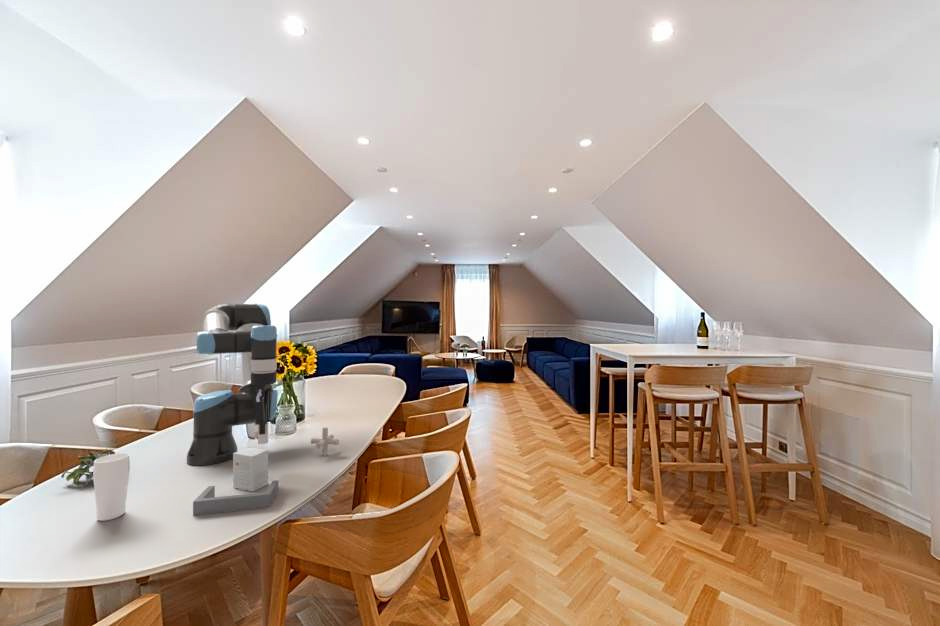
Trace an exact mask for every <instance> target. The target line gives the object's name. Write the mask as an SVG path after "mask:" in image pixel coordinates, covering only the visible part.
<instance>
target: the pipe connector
mask: <svg viewBox="0 0 940 626" xmlns="http://www.w3.org/2000/svg"><path fill="white" fill-rule="evenodd" d="M328 429H329V428H328V427H327V426H325V427H322V429H321V430H322V435H321V436H322V437H321V438H315V437H314V438H311V439H310V444H312V445H313V444H315V447H316V449H321V448H322V454H321V456H322V455H323V456H322V457H326V456H328V452H329V451H328V445H335V446H337V445H339V444H340V440H339V439H336V438H334V437H335V436H334V434H329V435H328V433H329V432H328V431H329V430H328Z"/></svg>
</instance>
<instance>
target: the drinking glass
mask: <svg viewBox="0 0 940 626" xmlns="http://www.w3.org/2000/svg"><path fill="white" fill-rule="evenodd" d="M130 465H131V459H130V454H129V453H128V452H127V453H126V452H119V453H116V454H111V455H110V454H109V455H106V456H103V457H100V458H98V459H96V460H95V461H94V466H92V467H93V470H92V472H93V487H94V497H95V507H96V508H95V509H96V519H97V520H98V521H101V522H105V521H111V520H114V519H117V518H119V517H121V516H122V515H124V514H125V512H126V507H127V506H126V503H127V496H128V495H127V494H128V487H129V477H130V469H131V467H130Z"/></svg>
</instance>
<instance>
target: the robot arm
mask: <svg viewBox="0 0 940 626" xmlns="http://www.w3.org/2000/svg"><path fill="white" fill-rule="evenodd" d="M200 324H201V327H202V328H203V331H200V332H197V334H196V353H197V354H198V355H219V354H220V355H223V354H240V355H241V372H242V386H240V388H238V393H234V392H233V390H231V389H225V390H224V389H223V390H217V391H212V392H207V393H205V394H201V395H199V396H198V397H196V398H195V399H194V401H193V410H192V413H193V425H192V426H193V431H192V434H193V435H192V436H193V437H192V441H191V445H190V446H189V449H188V452H187V454H186V463H187V464H188V465H191V466H209V465H213V464H218V463H222V462H225V461H228V460H231V459H233V453H236V452H238V445H237V442H236V440H235V437H234V434H233V427H237V426H241V425H248V424H249V425H251V424H255V425H257V444H258V445H265V444H266V445H267V444H268V443H269V425H270V424H269V423H271V422H272V420H274V419H275V416H276V414H277V413H276V412H277V407H278V406H277V405H278V398H279V397H278V390H277V389H273V388H274V387H273V384H275V383H277V376H278V375H277V372H276V371H277V369H278V368H277V367H278V364H277V363H278V362H277V361H278V360H277V359H278V358H277V348H278V347H277V344H278V342H277V340H278V334H277V333H278V330H277V327H276V326H275V325H272V321H271V313H270V310H269V307H268V306H267V305H265V304H258V303H254V304H253V303H251V304H250V303H221V304H217V305H215V306H213V307H210V308H208V309H207V310H206V311H204V312H203V313H202V315H201V317H200Z"/></svg>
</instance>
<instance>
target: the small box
mask: <svg viewBox="0 0 940 626" xmlns="http://www.w3.org/2000/svg"><path fill="white" fill-rule="evenodd" d="M232 470H233V471H232V476H233V477H232V479H233V480H232V482H233V485H232V487H233V489H236V488H238V489H237V490H243V491H247V490H248V491H249V492H252V493H253V491H254V492H256V491H258V490H259V489H261V488H263V487H265V486H267V485H268V484H269V450H267V449H261V448H255V447H247V448H244V449H241V450H237V452H236V453H233V458H232Z"/></svg>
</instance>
